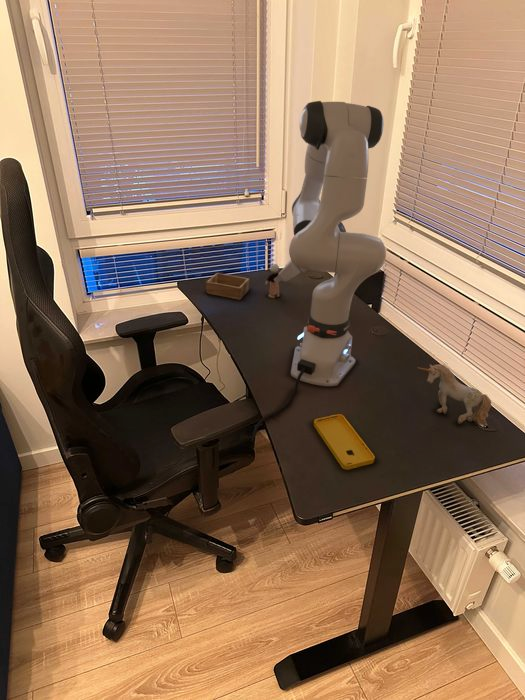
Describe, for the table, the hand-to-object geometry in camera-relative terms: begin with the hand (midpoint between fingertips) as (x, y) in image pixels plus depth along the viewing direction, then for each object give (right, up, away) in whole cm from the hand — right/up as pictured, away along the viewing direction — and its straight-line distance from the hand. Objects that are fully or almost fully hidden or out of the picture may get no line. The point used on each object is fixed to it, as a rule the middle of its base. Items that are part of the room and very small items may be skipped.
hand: (279, 275), depth 183 cm
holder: (-19, -5, +7) cm, 21 cm away
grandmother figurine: (-2, -7, +5) cm, 9 cm away
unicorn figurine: (+41, -45, -53) cm, 81 cm away
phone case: (+13, -49, -62) cm, 81 cm away
